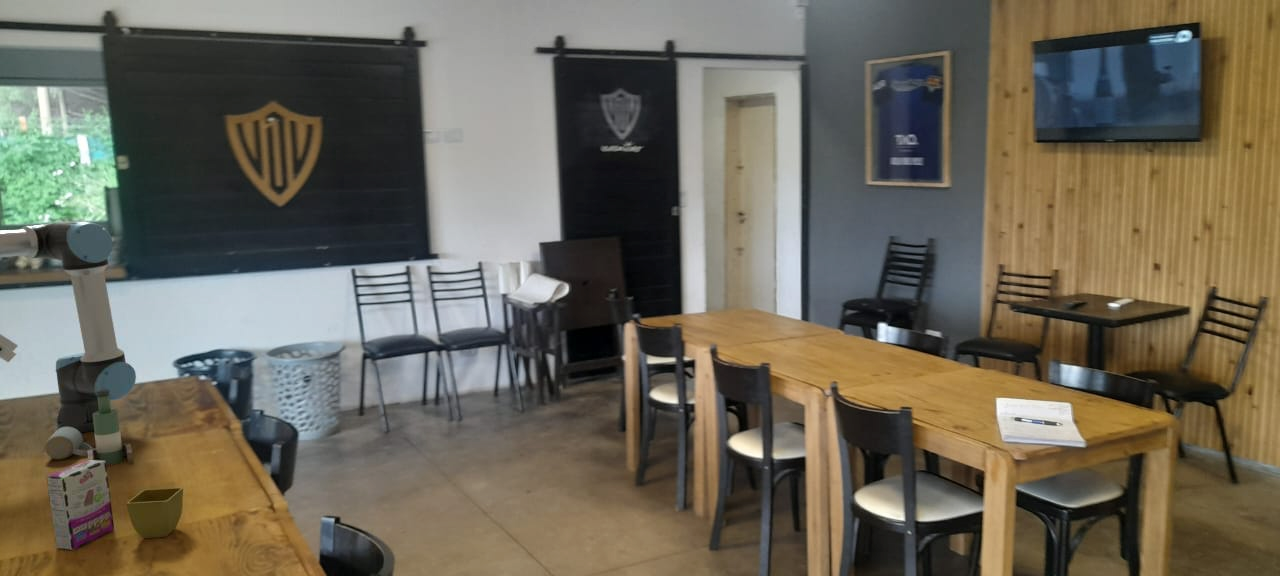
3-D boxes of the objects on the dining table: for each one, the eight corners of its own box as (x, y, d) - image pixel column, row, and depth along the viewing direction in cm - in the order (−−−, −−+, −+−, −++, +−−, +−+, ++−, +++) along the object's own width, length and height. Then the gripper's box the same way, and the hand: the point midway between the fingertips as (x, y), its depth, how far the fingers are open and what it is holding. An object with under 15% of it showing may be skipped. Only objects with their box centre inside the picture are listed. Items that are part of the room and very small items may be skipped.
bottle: (105, 458, 258) (97, 388, 255) (127, 457, 258) (120, 388, 255) (93, 465, 252) (85, 394, 249) (116, 465, 252) (108, 393, 249)
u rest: (88, 460, 257) (87, 449, 256) (131, 453, 262) (130, 442, 261) (89, 470, 248) (88, 459, 247) (133, 463, 253) (132, 452, 253)
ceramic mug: (44, 462, 256) (42, 435, 255) (54, 453, 263) (51, 427, 262) (87, 458, 259) (85, 432, 257) (95, 450, 266) (93, 424, 265)
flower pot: (147, 526, 208) (143, 488, 207) (187, 524, 209) (183, 486, 208) (129, 543, 200) (125, 503, 198) (171, 540, 200) (167, 501, 199)
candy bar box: (97, 528, 208) (89, 458, 206) (115, 530, 207) (107, 460, 204) (53, 549, 197) (45, 475, 195) (72, 551, 196) (63, 477, 194)
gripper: (-70, 309, 246) (4, 356, 256) (-82, 322, 225) (0, 373, 235) (-48, 287, 248) (25, 335, 258) (-58, 299, 227) (22, 350, 237)
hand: (13, 353), depth 247 cm, fingers open, 13 cm apart
